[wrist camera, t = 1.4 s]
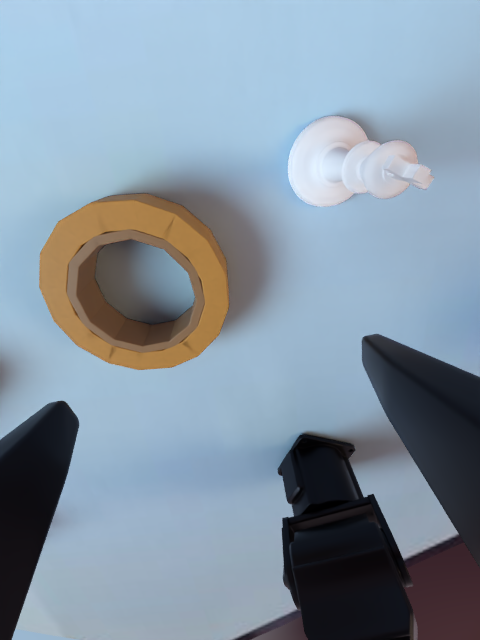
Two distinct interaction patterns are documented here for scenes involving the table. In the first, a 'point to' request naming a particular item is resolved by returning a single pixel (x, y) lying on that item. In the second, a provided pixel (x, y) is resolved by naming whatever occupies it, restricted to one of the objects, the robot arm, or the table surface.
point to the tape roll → (102, 319)
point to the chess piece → (350, 164)
